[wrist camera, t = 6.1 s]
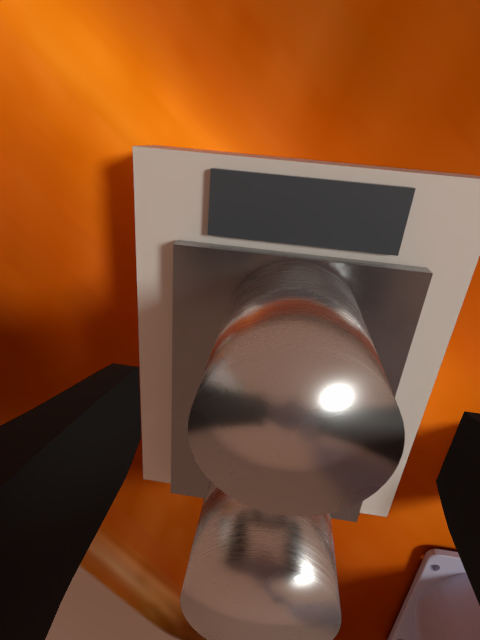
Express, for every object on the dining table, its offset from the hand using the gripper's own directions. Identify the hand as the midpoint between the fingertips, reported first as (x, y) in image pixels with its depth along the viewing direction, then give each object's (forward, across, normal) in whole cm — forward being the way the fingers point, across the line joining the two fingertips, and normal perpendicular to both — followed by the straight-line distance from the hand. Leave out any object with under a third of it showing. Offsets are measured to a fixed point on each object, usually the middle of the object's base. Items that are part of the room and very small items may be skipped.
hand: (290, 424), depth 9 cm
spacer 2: (+5, 0, +6) cm, 8 cm away
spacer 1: (+5, 0, 0) cm, 5 cm away
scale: (+8, 0, +2) cm, 8 cm away
